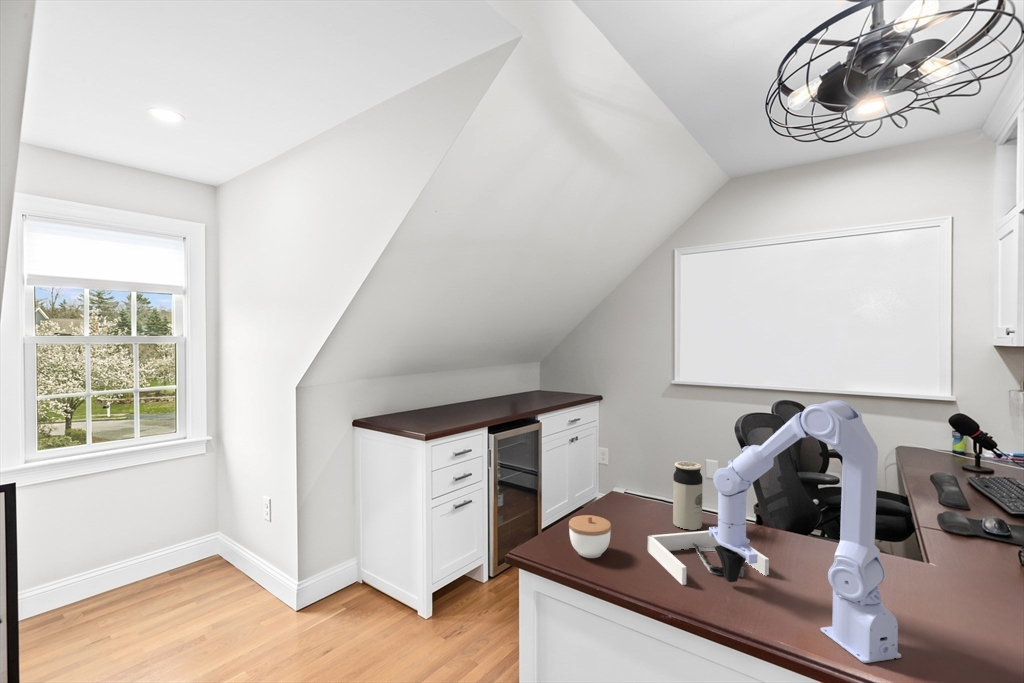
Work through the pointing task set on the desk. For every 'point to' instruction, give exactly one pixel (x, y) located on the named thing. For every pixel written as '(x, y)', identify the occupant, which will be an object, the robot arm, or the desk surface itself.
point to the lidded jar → (589, 535)
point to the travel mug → (687, 495)
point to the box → (678, 541)
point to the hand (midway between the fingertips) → (731, 580)
